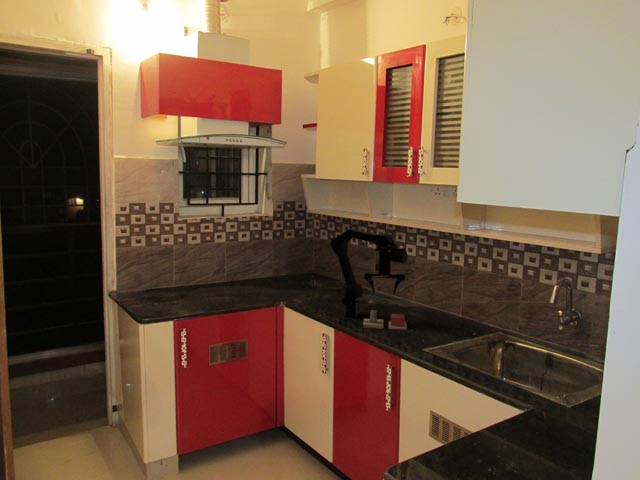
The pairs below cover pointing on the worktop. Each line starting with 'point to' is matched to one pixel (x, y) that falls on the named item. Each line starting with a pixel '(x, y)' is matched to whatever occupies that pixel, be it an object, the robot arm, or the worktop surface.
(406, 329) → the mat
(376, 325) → the post stand
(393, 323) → the red cuboid block
